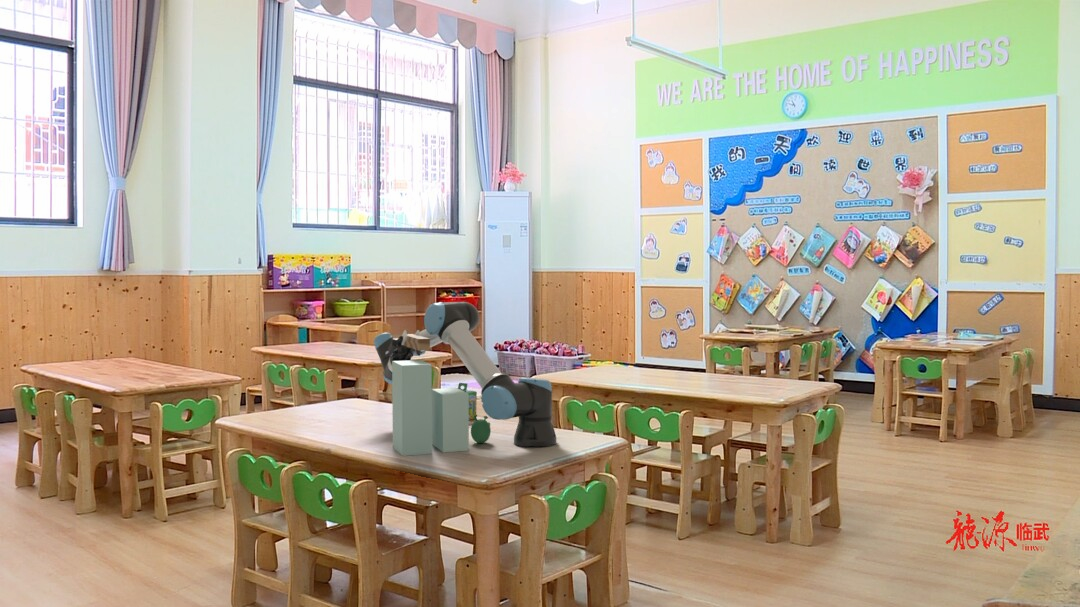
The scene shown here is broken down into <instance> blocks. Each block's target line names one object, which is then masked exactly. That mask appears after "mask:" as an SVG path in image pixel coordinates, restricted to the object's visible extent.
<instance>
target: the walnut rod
mask: <svg viewBox="0 0 1080 607" xmlns="http://www.w3.org/2000/svg"><path fill="white" fill-rule="evenodd" d="M403 346H406V347H409V348H412V349H415V350H418V351H421V350H426V351H430V350H431V348H430V339H429V338H426V337H422V336H418V335H415V333H407V339H406V341H405V343H404V345H403Z"/></svg>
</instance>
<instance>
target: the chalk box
mask: <svg viewBox="0 0 1080 607" xmlns="http://www.w3.org/2000/svg"><path fill="white" fill-rule="evenodd" d="M462 387H463V388H462ZM457 388H458V389H460V390H462V391H464V392H467V393H469V421H470V420H476V419H475V418H474V417H473V416H474V415H477V399H478V398H477V391H475V390H468V389H467V388H468V383H466V382H459V383H458V387H457Z"/></svg>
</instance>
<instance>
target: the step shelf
mask: <svg viewBox="0 0 1080 607" xmlns="http://www.w3.org/2000/svg"><path fill="white" fill-rule="evenodd" d="M432 378H433V376H432V364H431V363H429V362H427V361H424V360H422V359H414V360H412V359H411V360H406V361H392V384H391V385H392V391H391V394H392V401H391V402H392V448H393V449H394V450H395V451H396V452H397V453H398V454H400V455H401V456H402V457H404V456H405V457H406V456H419V455H421V456H422V455H429V454H430V455H431V454H433V446H434V447H435V448H436V449H438V450H439V451H441V452H442V453H451V452H453V453H454V452H465V451H467V452H468V451H470V444H469V443H470V441H469V440H470V438H469V437H470V436H469V435H470V434H469V433H470V432H469V431H470V429H469V428H470V427H469V425H470V424H469V422H470V420H469V393H467V392H464V391H462V390H460V389H458V387H449V388H448V387H447V388H445V387H444V388H432V387H433V384H432Z"/></svg>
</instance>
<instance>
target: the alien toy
mask: <svg viewBox="0 0 1080 607" xmlns="http://www.w3.org/2000/svg"><path fill="white" fill-rule="evenodd" d="M473 417H474V418H475V419H474V422H472V424H471V427H470V435H471V438H472V440H473V441H474V442H475V443H477V444H483V443H484V444H485V443H486V442H487V441H488V440H489V439H490V436H491V422H489V421H487V419H488V417H489V416H488V415H484V416H483V418H484V419H481V418H480V419H479V418H478V414H476V415H474V416H473ZM477 418H478V419H477Z"/></svg>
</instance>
